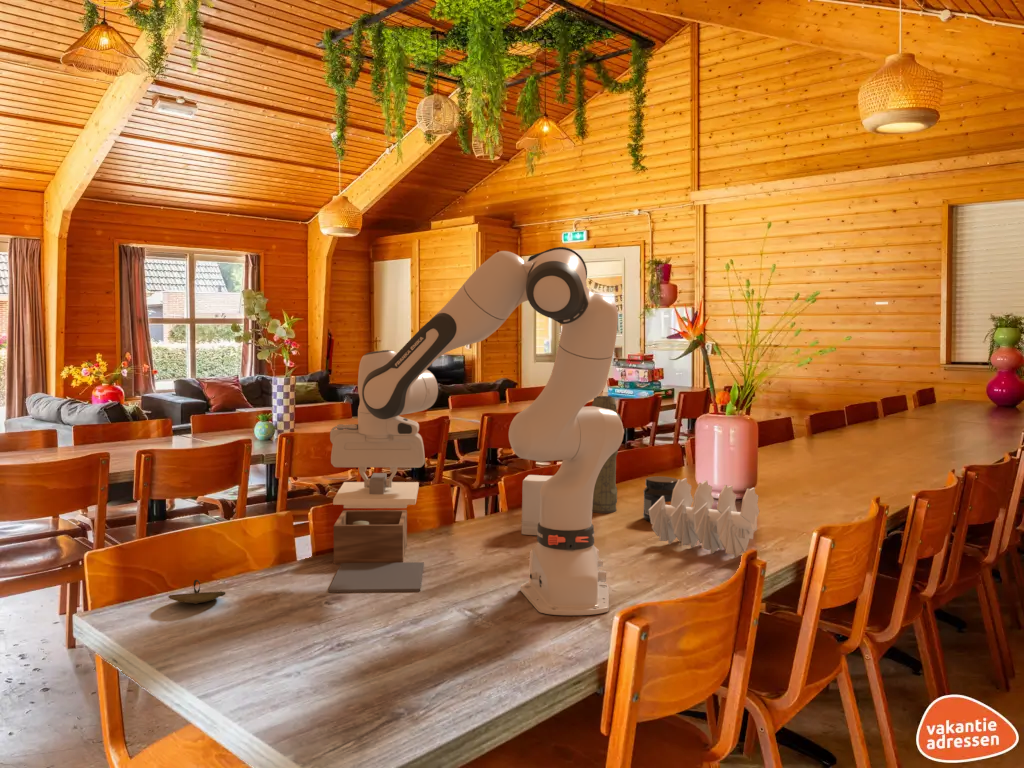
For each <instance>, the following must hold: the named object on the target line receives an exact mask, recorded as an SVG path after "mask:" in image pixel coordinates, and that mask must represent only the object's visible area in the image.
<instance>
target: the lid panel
mask: <svg viewBox="0 0 1024 768" xmlns="http://www.w3.org/2000/svg"><path fill="white" fill-rule="evenodd" d="M387 474H388V473H387V472H373V473H372V475H371V477H369V478H370V480H369V488H364V481H344V482H343V483H342V485H341V486H340V487H339V489H338V491H337V492H336V494H335V495H334V497H333V500H332V504H333V506H335V505H336V506H337V505H338V506H339V505H340V506H343V509H407V507H408V506H409V505H410V506H411V505H413V506H415V505H416V503H417V499H418V493H419V488H420V486H419V485H420V482H418V481H416V482H415V481H406V482H405V481H392V488H385V478H387V476H388V475H387Z"/></svg>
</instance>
